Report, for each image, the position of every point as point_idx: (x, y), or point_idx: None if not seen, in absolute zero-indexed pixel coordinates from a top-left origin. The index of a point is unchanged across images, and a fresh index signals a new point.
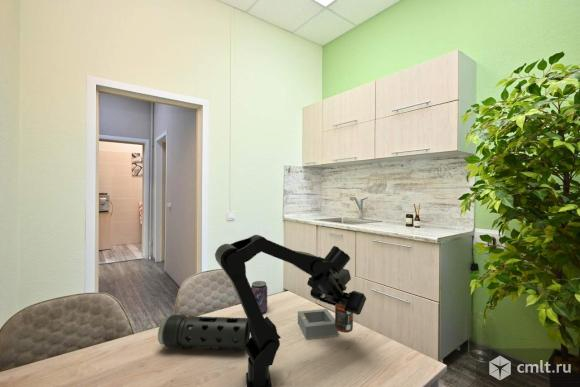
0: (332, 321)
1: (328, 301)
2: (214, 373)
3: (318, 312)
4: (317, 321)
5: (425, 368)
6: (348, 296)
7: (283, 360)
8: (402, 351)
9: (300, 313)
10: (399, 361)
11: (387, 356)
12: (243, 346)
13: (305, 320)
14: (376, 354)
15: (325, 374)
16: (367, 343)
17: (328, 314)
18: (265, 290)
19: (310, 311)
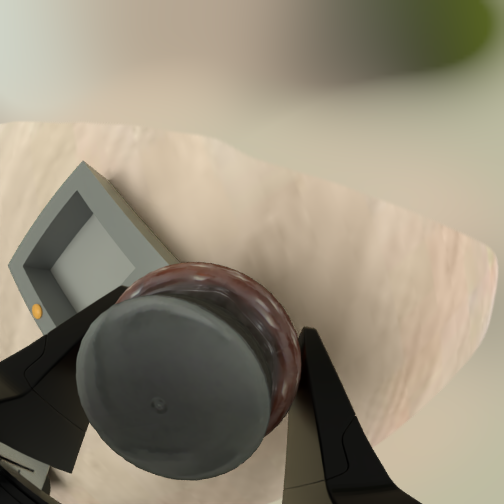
0: (138, 265)
1: (71, 446)
2: None
3: (61, 212)
4: (82, 225)
5: (482, 283)
6: (237, 402)
7: (124, 480)
8: (430, 233)
9: (17, 276)
10: (435, 298)
11: (404, 296)
12: (48, 493)
13: (48, 326)
14: (371, 309)
15: (254, 489)
16: (320, 255)
17: (100, 205)
18: None
19: (36, 232)
